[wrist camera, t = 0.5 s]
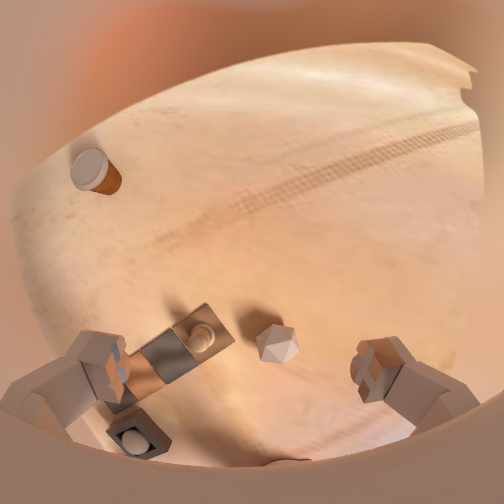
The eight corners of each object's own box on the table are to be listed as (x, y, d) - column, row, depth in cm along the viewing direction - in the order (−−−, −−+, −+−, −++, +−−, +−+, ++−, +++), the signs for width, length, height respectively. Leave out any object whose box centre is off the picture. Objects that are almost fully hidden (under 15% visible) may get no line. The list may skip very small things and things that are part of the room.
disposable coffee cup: (132, 166, 59) (111, 147, 47) (120, 204, 58) (95, 192, 46) (102, 162, 59) (78, 144, 47) (90, 198, 58) (63, 186, 46)
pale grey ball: (157, 441, 53) (150, 455, 46) (139, 449, 53) (131, 462, 46) (139, 421, 54) (129, 434, 47) (121, 429, 53) (111, 442, 46)
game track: (235, 340, 57) (235, 341, 56) (115, 413, 55) (114, 414, 55) (207, 303, 57) (207, 304, 57) (91, 383, 56) (90, 384, 55)
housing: (172, 441, 55) (167, 451, 50) (142, 453, 55) (136, 463, 50) (141, 408, 56) (134, 417, 51) (113, 422, 55) (105, 431, 50)
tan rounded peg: (220, 338, 56) (216, 349, 48) (201, 350, 56) (194, 363, 48) (205, 319, 57) (199, 326, 49) (186, 332, 56) (177, 341, 48)
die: (247, 336, 58) (254, 373, 50) (265, 310, 54) (275, 348, 46) (279, 342, 61) (288, 376, 53) (299, 317, 57) (312, 353, 49)
